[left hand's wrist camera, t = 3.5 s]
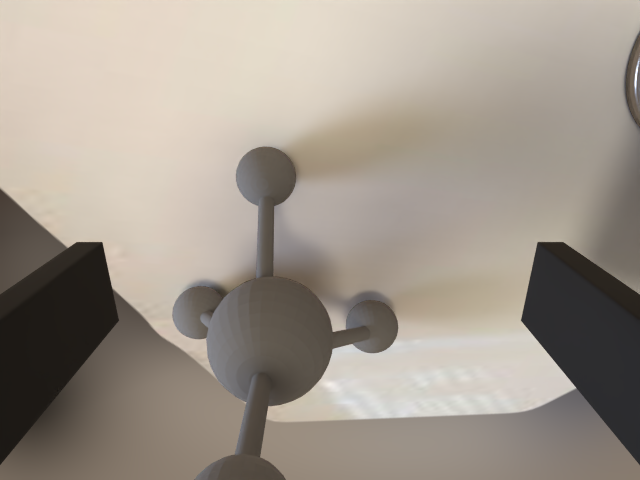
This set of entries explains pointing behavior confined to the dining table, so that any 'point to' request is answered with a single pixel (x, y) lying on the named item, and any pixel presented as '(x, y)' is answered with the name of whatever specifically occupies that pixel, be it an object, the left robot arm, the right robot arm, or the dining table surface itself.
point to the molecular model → (270, 326)
